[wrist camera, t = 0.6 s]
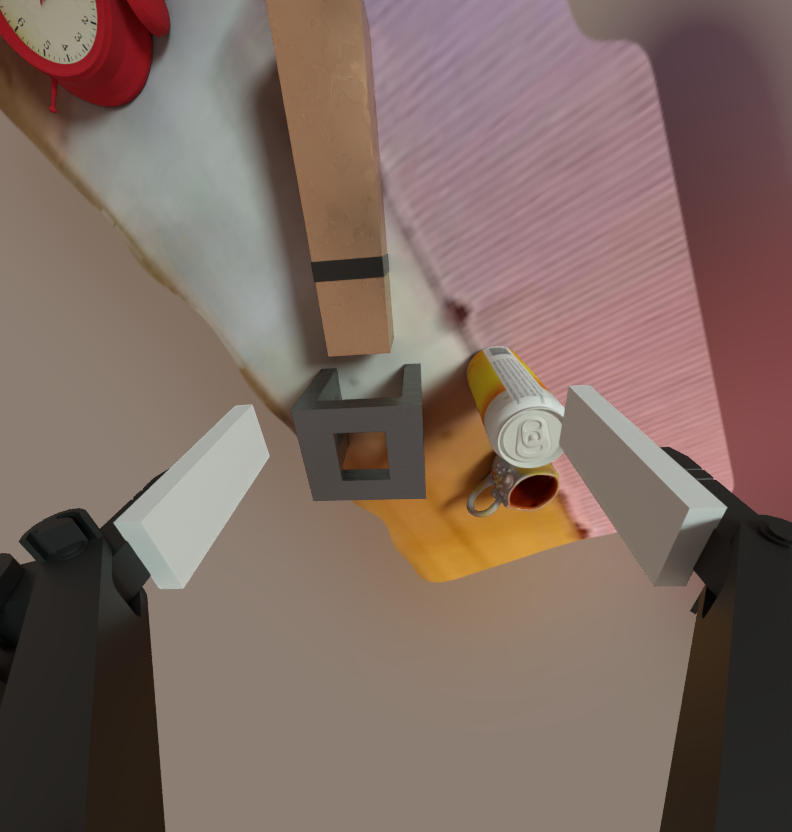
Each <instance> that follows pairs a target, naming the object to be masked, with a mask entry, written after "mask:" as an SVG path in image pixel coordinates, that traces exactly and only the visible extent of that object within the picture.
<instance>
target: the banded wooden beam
mask: <svg viewBox="0 0 792 832" xmlns="http://www.w3.org/2000/svg"><path fill="white" fill-rule="evenodd" d="M266 5H267V10H268V16H269V22H270V28H271V33H272V39H273V45H274V50H275V56H276V62H277V67H278V73H279V79H280V84H281V90H282V96H283V101H284V107H285V113H286V118H287V124H288V130H289V136H290V141H291V147H292V153H293V158H294V164H295V170H296V175H297V181H298V187H299V192H300V198H301V204H302V209H303V215H304V221H305V227H306V232H307V238H308V244H309V249H310V255H311V261H312V262H311V266H312V272H313V277H314V282H315V283H316V289H317V295H318V300H319V306H320V312H321V318H322V323H323V329H324V335H325V340H326V346H327V352H328V357H329V356H346V355H364V354H381V353H390V352H391V347H392V343H393V338H394V332H393V319H392V306H391V294H390V281H389V262H388V254H387V243H386V230H385V217H384V204H383V192H382V179H381V166H380V153H379V141H378V128H377V115H376V102H375V90H374V77H373V64H372V51H371V39H370V27H369V23H368V18H367V14H366V9H365V4H364V0H266Z"/></svg>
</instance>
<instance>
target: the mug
mask: <svg viewBox="0 0 792 832" xmlns="http://www.w3.org/2000/svg"><path fill="white" fill-rule="evenodd" d="M492 485H495V488H494V489H492V491H491V495H492V496H493V497H494V498H496V500H495V502H494V503H493V504H492V505H491V506H490V507H489V508H488V509H486V510H484V511H476V510H475V509H474V501H475V499H476V497H477V496H478V495H479V494H480V493H481V492H482V491H483V490H484V489H486V488H487V487H489V486H492ZM559 486H560V483H559V475H558V473H557V471H556V470H555V469H554V467H553V464H552V462H551V463H549V464H547V465H544V466H541V467H536V468H521V467H517V466H514V465H512V464H510V463H508V462H507V461H506V460H505V459H503V458H501V457H500V456H499V455H498V454H496V456H495V458H494V460H493V464H492V468H491V473H490V474H489V475H488V476H487V477H486V478H485V479H484V480H482V481H481V482H480V483H479V484H478V485H477V486H476V487H475V488H474V490H473V491H472V492H471V494H470V496H469V498H468V500H467V509H468V511H469V513H470V514H472V515H473V516H476V517H487V516H489V515H491V514H492V513H494V512H495V511H496V510H497V508H498V507H499V505H500V504H501V502H502V503H503V505H504V506H505V507H506V508H514V509H518V510H521V511H534V510H539V509H540V508H542V507H543V506H545V505H546V504H547V503H549V502H550V501H551V500H552V499H553V498H554V497H555V496H556V495H557V493H558V490H559Z"/></svg>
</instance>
